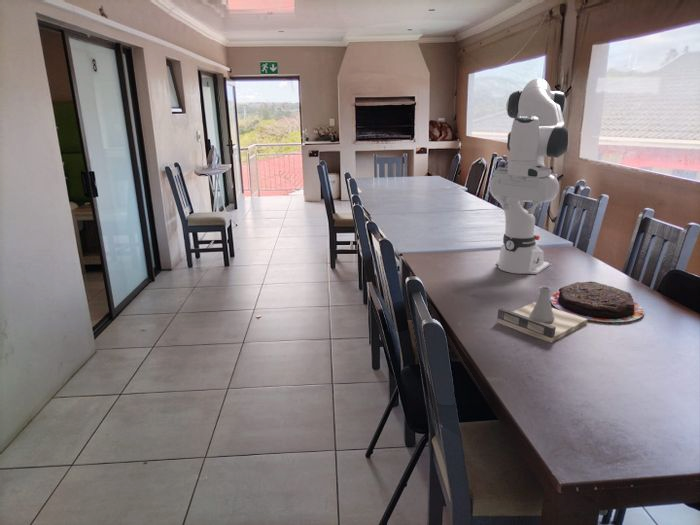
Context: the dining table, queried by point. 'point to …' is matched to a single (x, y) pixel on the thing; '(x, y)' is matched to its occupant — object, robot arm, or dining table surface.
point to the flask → (543, 307)
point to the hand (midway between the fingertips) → (518, 211)
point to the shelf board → (540, 323)
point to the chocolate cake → (597, 303)
